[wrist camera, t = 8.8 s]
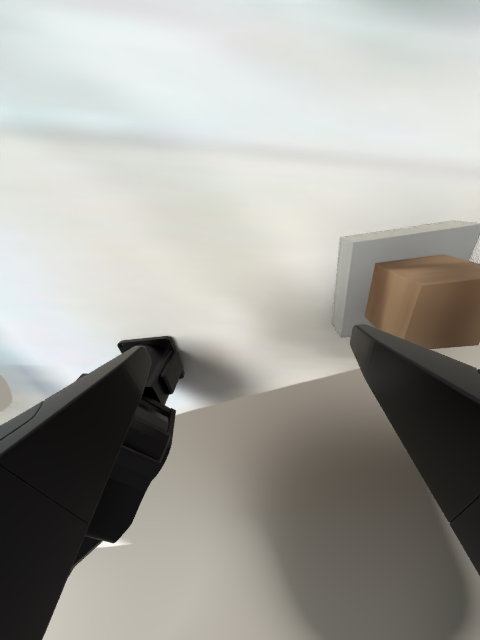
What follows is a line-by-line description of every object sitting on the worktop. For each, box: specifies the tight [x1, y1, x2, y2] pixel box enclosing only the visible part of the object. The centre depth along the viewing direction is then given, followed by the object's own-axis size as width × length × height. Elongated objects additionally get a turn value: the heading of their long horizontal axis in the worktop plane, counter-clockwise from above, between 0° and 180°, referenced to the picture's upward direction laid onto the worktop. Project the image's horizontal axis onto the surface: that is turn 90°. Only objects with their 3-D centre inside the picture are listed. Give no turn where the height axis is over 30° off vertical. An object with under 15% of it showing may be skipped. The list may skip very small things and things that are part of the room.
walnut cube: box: [365, 254, 480, 349], centre depth 15 cm, size 5×5×5 cm
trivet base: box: [332, 221, 480, 337], centre depth 18 cm, size 9×9×3 cm
